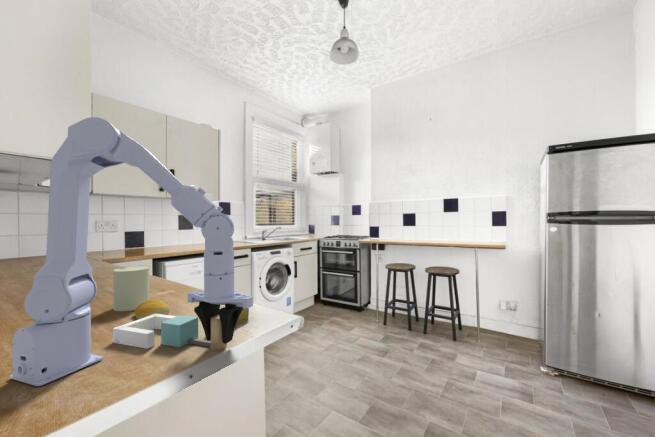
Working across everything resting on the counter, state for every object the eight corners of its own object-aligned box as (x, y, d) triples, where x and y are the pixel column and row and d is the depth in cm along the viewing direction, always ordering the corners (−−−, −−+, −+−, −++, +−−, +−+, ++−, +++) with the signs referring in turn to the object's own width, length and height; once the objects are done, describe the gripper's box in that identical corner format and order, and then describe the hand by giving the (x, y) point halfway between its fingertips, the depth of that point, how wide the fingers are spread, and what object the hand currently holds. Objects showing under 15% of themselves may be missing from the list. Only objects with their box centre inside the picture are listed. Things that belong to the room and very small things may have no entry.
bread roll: (137, 323, 73) (137, 307, 73) (132, 314, 80) (132, 300, 80) (173, 316, 78) (173, 301, 78) (166, 308, 85) (165, 295, 85)
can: (130, 302, 92) (130, 264, 92) (156, 302, 91) (156, 264, 91) (104, 310, 83) (104, 269, 83) (133, 312, 82) (133, 269, 82)
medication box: (215, 336, 64) (216, 318, 64) (206, 335, 65) (206, 317, 65) (249, 319, 75) (249, 304, 75) (240, 318, 76) (240, 303, 76)
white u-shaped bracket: (147, 348, 57) (147, 333, 58) (113, 342, 61) (112, 328, 61) (187, 330, 67) (187, 317, 67) (155, 325, 70) (155, 313, 70)
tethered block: (216, 353, 55) (216, 322, 55) (161, 344, 60) (160, 315, 60) (232, 343, 60) (232, 314, 60) (180, 335, 64) (180, 308, 64)
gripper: (261, 271, 59) (261, 337, 59) (204, 268, 64) (205, 329, 64) (240, 277, 53) (240, 351, 53) (179, 273, 58) (179, 341, 57)
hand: (219, 340), depth 58 cm, fingers open, 3 cm apart
